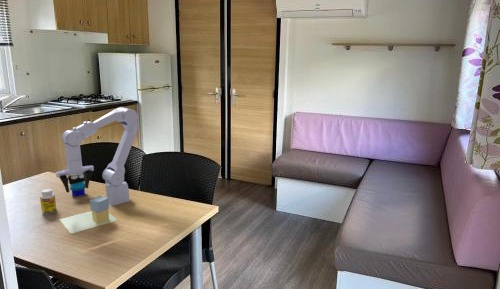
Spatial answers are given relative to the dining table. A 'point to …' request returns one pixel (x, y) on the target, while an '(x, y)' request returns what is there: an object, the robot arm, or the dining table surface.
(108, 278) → the dining table surface
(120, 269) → the dining table surface
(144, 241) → the dining table surface
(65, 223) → the baseplate
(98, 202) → the blue brick
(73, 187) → the toy
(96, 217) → the mustard brick
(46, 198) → the supplement bottle
